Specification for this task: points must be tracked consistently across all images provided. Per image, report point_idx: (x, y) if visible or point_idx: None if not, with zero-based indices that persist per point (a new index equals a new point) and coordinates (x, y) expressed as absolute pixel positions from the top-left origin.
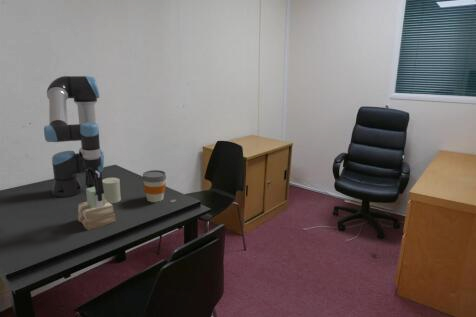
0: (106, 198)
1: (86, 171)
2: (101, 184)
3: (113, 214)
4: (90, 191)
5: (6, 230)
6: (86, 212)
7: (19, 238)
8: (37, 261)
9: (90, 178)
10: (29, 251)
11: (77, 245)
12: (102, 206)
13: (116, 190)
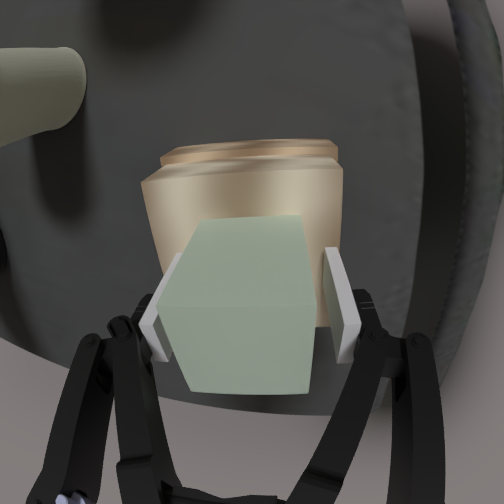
0: (56, 120)
1: (96, 497)
2: (435, 428)
3: (332, 156)
4: (283, 391)
5: (182, 399)
6: (321, 323)
7: (243, 396)
8: (385, 385)
9: (167, 456)
10: (328, 393)
11: (397, 319)
12: (309, 236)
13: (37, 66)
